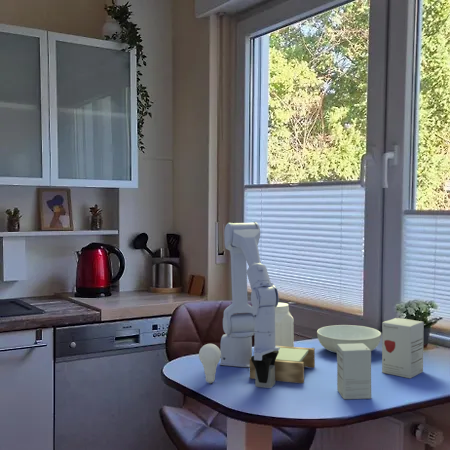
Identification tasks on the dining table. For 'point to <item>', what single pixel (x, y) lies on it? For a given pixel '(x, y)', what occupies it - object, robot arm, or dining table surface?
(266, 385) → the gray block
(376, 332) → the serving bowl
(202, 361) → the lightbulb
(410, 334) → the supplement box
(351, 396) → the supplement box
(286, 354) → the hatch
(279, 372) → the hatch frame
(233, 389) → the dining table surface
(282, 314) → the jar
